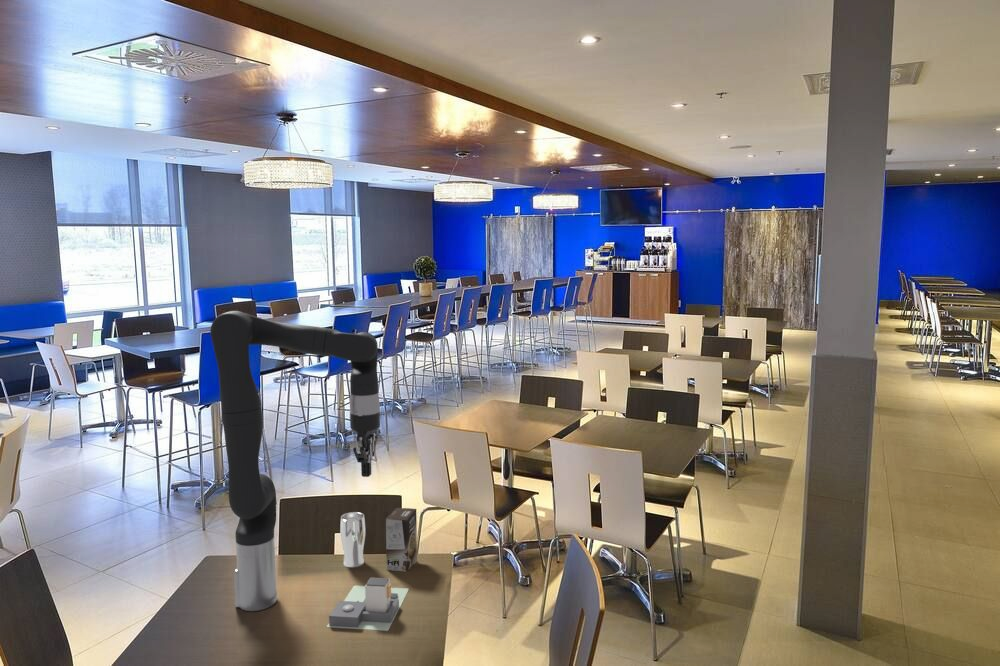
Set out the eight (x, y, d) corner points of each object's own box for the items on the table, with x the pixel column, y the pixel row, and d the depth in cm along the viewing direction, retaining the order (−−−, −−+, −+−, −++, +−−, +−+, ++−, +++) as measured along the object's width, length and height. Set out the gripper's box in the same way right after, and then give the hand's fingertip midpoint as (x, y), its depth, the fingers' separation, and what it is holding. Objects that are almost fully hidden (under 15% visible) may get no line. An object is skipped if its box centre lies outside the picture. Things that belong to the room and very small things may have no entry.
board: (326, 631, 158) (326, 618, 157) (354, 589, 177) (353, 578, 177) (388, 635, 156) (387, 622, 156) (409, 592, 176) (408, 581, 175)
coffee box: (407, 576, 185) (406, 520, 183) (385, 573, 186) (384, 518, 184) (418, 561, 194) (417, 508, 192) (397, 559, 195) (396, 506, 193)
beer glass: (354, 558, 195) (353, 509, 194) (371, 565, 191) (370, 515, 190) (336, 567, 190) (334, 517, 188) (352, 574, 186) (351, 523, 184)
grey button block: (329, 625, 158) (328, 614, 157) (344, 602, 168) (344, 591, 168) (357, 627, 157) (357, 615, 157) (371, 604, 168) (371, 593, 167)
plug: (366, 617, 161) (365, 584, 161) (371, 608, 165) (370, 576, 164) (388, 618, 161) (387, 586, 160) (392, 609, 165) (392, 578, 164)
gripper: (359, 404, 177) (360, 467, 179) (341, 416, 164) (343, 484, 166) (386, 405, 176) (387, 468, 178) (371, 417, 163) (372, 485, 165)
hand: (366, 475), depth 172 cm, fingers closed
